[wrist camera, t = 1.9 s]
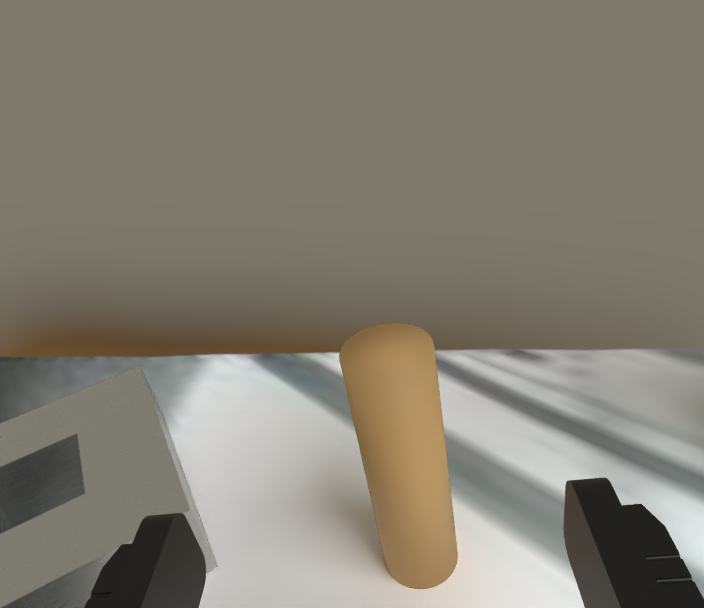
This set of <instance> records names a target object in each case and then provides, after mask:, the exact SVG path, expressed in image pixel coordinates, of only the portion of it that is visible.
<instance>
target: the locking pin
mask: <svg viewBox="0 0 704 608" xmlns="http://www.w3.org/2000/svg"><path fill="white" fill-rule="evenodd" d="M339 359H340V364H341V368H342V372H343V377H344V381H345V386H346V390H347V395H348V399H349V404H350V408H351V412H352V417H353V421H354V426H355V430H356V435H357V439H358V443H359V448H360V452H361V457H362V461H363V466H364V470H365V474H366V479H367V483H368V488H369V492H370V497H371V501H372V506H373V510H374V514H375V519H376V523H377V528H378V532H379V537H380V541H381V545H382V550H383V554H384V559H385V563H386V566H387V569H388V571H389V572H390V574H391V575H392V576H393V578H394V579H396V580H397V581H398V582H399V583H401V584H403V585H405V586H407V587H410V588H415V589H426V588H431V587H435V586H437V585H439V584H441V583H443V582H444V581H445V580H446V579H447V578H448V577H449V576H450V575H451V574H452V573H453V571H454V569H455V567H456V564H457V558H458V553H457V543H456V534H455V526H454V517H453V508H452V499H451V490H450V481H449V472H448V463H447V455H446V446H445V437H444V428H443V419H442V410H441V401H440V393H439V384H438V375H437V366H436V357H435V348H434V342H433V340H432V338H431V336H430V335H429V334H428V333H427V332H426V331H424V330H423V329H421V328H419V327H416V326H414V325H410V324H404V323H385V324H379V325H375V326H371V327H368V328H366V329H363V330H361V331H359V332H358V333H356V334H354V335H353V336H352V337H350V338H349V339H348V340H347V341H346V342H345V343H344V345H343V346H342V348H341V351H340V355H339Z"/></svg>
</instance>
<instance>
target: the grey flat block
mask: <svg viewBox="0 0 704 608" xmlns="http://www.w3.org/2000/svg"><path fill="white" fill-rule="evenodd" d="M172 513H182V514H184V515H185V517H186V518H187V521H188V523H189V525H190V527H191V529H192V531H193V533H194V535H195V537H196V539H197V541H198V544H199V546H200V548H201V550H202V552H203V554H204V557H205V562H206V573H207V572H209V571H211V570H213V569H215V568H216V567H218V565H217V563H216V560H215V557H214V554H213V552H212V549H211V546H210V543H209V541H208V538H207V535H206V532H205V530H204V527H203V524H202V521H201V518H200V516H199V513H198V510H197V507H196V505H195V502H194V499H193V496H192V494H191V491H190V488H189V485H188V483H187V480H186V477H185V474H184V471H183V469H182V466H181V463H180V460H179V458H178V455H177V452H176V449H175V447H174V444H173V441H172V438H171V436H170V433H169V430H168V427H167V425H166V422H165V419H164V416H163V414H162V412H161V409H160V407H159V405H158V403H157V401H156V399H155V396H154V394H153V392H152V390H151V388H150V386H149V384H148V381H147V379H146V377H145V375H144V373H143V371H142V368H141V366H138V367H136V368H134V369H131V370H129V371H126V372H124V373H121V374H119V375H117V376H114V377H112V378H109V379H107V380H104V381H102V382H100V383H97V384H95V385H92V386H90V387H88V388H85V389H83V390H80V391H78V392H75V393H73V394H71V395H68V396H66V397H63V398H61V399H59V400H56V401H54V402H51V403H49V404H46V405H44V406H42V407H39V408H37V409H34V410H32V411H29V412H27V413H25V414H22V415H20V416H17V417H15V418H13V419H10V420H8V421H5V422H3V423H0V608H84V607H85V605H86V603H87V600H88V599H90V598H91V592H92V589H93V587H94V585H95V583H96V580H97V578H98V576H99V574H100V572H101V569H102V567H103V566H104V565H105V564H106V563H107V561H108V560H109V559H110V558H111V557H112V555H113V554H114V553H115V552H116V551H117V549H118V548H119V547H120V546H121V545H122V544H132V542H133V540H134V538H135V535H136V533H137V530H138V528H139V526H140V524H141V522H142V520H143V519H144V518H145V517H146V516H149V515H161V514H172Z"/></svg>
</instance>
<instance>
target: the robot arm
mask: <svg viewBox="0 0 704 608" xmlns="http://www.w3.org/2000/svg"><path fill="white" fill-rule="evenodd" d="M564 539H565V545H566V550H567V554H568V558H569V561H570V564H571V567H572V570H573V573H574V576H575V579H576V582H577V585H578V588H579V591H580V594H581V597H582V600H583V603H584V606H585V608H704V599H703V597H702V595H701V593H700V591H699V589H698V588H697V586H696V584H695V582H693V581H692V578H691V574H690V573H689V571H688V569H687V567H686V565H685V563H684V561H683V559H681V558H680V555H679V552H678V550H677V548H676V546H675V544H674V542H673V540H672V539H671V537H670V535H669V533H668V531H667V529H666V527H665V526H664V525H663V524H662V523H661V522H660V521H659V520H658V519H657V518H656V517H655V516H654V515H652V514H651V513H650V512H649V511H648V510H647V509H646V508H645V507H644V506H643V505H642V504H634V505H622V506H621V503H620V501H619V499H618V497H617V495H616V493H615V491H614V489H613V487H612V485H611V483H610V481H609V480H608V479H607V478H594V479H583V480H571V481H567V482H566V490H565V510H564ZM205 579H206V562H205V557H204V554H203V552H202V550H201V548H200V546H199V544H198V541H197V539H196V537H195V535H194V533H193V531H192V529H191V527H190V525H189V523H188V521H187V518H186V517H185V515H184V514H182V513H172V514H161V515H149V516H146V517H145V518H144V519H143V520H142V522H141V524H140V526H139V528H138V530H137V533H136V535H135V538H134V540H133V542H132V544H122V545H121V546H120V547H119V548H118V549H117V551H116V552H115V553H114V554H113V555H112V557H111V558H110V559H109V560H108V561H107V563H106V564H105V565H104V566H103V567H102V569H101V572H100V574H99V576H98V578H97V580H96V583H95V585H94V587H93V589H92V592H91V598H90V599H88V600H87V603H86V605H85V607H84V608H199V604H200V600H201V596H202V593H203V589H204V585H205Z"/></svg>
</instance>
